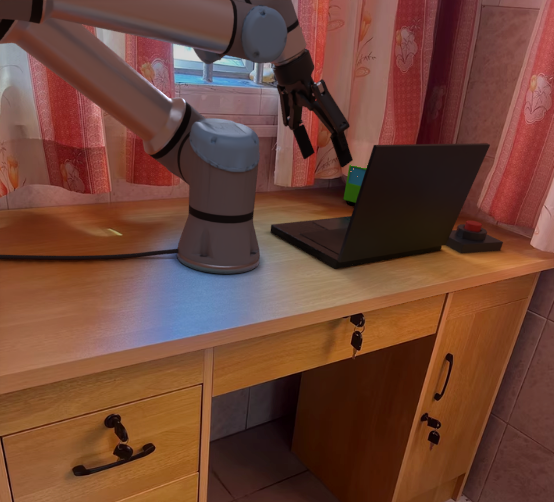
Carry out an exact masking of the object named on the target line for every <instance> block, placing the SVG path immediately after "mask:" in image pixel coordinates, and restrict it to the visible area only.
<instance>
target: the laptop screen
mask: <svg viewBox="0 0 554 502" xmlns="http://www.w3.org/2000/svg"><path fill="white" fill-rule="evenodd" d="M490 146H491V144H490V143H486V142H485V143H484V142H483V143H418V144H417V143H415V144H413V143H412V144H411V143H410V144H405V143H403V144H373V147H372V150H371V153H370V155H369V159H368V162H367V164H368V165H367V168H366V171H365V174H364V178H363V181H362V184H361V187H360V190H359V193H358V197H357V200H356V203H355V202H354V207H353V210H352V213H351V215H350V216H351V219H350V222H349V225H348V228H347V231H346V235H345V238H344V241H343V244H342V247H341V250H340V254H339V257H338V260H337V261H338V262H346V261H352V260H358V259H364V258H370V257H376V256H383V255H389V254H395V253H401V252H407V251H413V250H419V249H425V248H431V247H437V246H442V247H443V246H446V243H447V241H448V238H449V236H450V234H451V232H452V230H454V227H455V225H456V223H457V220H458V218H459V216H460V214H461V212H462V210H463V207H464V205H465V202H466V200H467V199H468V196H469V194H470V192H471V189H472V187H473V184H474V183H475V180H476V178H477V176H478V173H479V171H480V169H481V167H482V164H483V162H484V160H485V158H486V156H487V153H488V151H489V149H490Z"/></svg>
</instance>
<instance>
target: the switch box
mask: <svg viewBox="0 0 554 502" xmlns="http://www.w3.org/2000/svg"><path fill="white" fill-rule="evenodd" d="M465 224H466V223H464V224H460V223H459V224H458V225H457V227H456V229H453V230H452V232H451V234H450V236H449V238H448V241H447V243H446V245H445V246H446V247H447V248H449V249H452V250H453V251H455V252H457V253H459V254H461V255H462V254H463V255H464V254H477V253H488V252H489V253H490V252H501V250H502V247H503V244H504V241H502V240H501V239H499V238H496V237H494V236H492V235H490V234H488V231H487V229H485V228H484V227H481V230H480V232H474V231H469V230H466V229H464V227H465Z"/></svg>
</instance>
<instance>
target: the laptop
mask: <svg viewBox="0 0 554 502" xmlns="http://www.w3.org/2000/svg"><path fill="white" fill-rule="evenodd" d="M351 216H352V215H349V216H339V217H329V218H321V219H320V218H319V219H309V220H301V221H291V222H283V223H281V222H280V223H273V224H270V234H272V235H274V236H276V237H278V239H281V240H283V241H284V242H286V243H288V244H290V245H291V246H293V247H295V248H297V249H299V250H301V251H302V252H304V253H306V254H308V255H309V256H312V257H313V258H314V259H316V260H318V261H320V262H322V263H324V264H325V265H327V266H329V267H331V268H332V269H334V270H338V269H344V268H349V267H355V266H362V265H366V264H372V263H373V264H374V263H377V262H384V261H390V260H395V259H402V258H407V257H412V256H419V255H424V254H430V253H435V252H441V251H442V247H443V246H437V247H431V248H425V249H419V250H413V251H407V252H401V253H395V254H389V255H383V256H376V257H370V258H364V259H358V260H352V261H346V262H338V261H337V260H338V257H339V254H340V250H341V247H342V244H343V241H344V238H345V235H346V231H347V228H348V225H349V222H350V219H351Z"/></svg>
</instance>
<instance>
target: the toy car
mask: <svg viewBox="0 0 554 502" xmlns="http://www.w3.org/2000/svg"><path fill="white" fill-rule="evenodd" d="M351 165H352V164H348V170H347V177H346V181H345V187H344V188H345V189H344V194H343V200H344V201H345V203H346V204H352V203H354V204H355V203H356V200H357V197H358V193H359V190H360V187H361V184H362V181H363V178H364V174H365V171H366V168H361V167H357V166H351ZM353 168H354V170H353ZM350 171H352V172H350ZM357 176H358V177H357Z"/></svg>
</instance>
